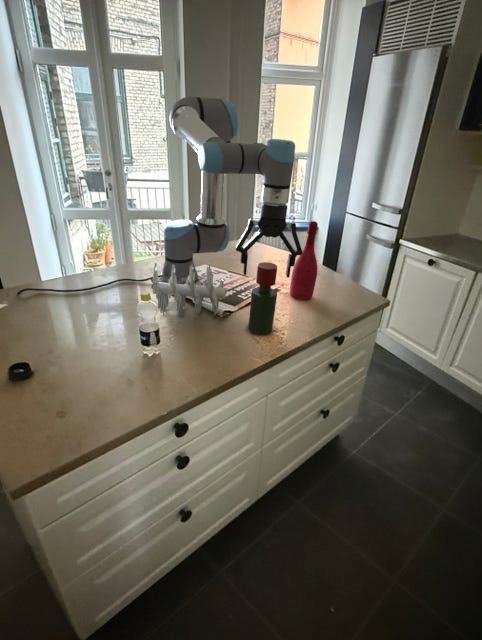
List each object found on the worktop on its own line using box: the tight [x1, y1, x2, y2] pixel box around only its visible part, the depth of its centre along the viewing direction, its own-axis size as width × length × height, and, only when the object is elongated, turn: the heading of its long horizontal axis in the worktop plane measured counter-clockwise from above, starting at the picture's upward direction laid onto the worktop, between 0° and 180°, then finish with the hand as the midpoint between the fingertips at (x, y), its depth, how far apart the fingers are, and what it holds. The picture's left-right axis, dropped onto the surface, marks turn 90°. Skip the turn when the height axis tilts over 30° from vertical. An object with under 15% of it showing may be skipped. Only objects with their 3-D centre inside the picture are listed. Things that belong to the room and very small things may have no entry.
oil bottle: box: [247, 285, 278, 336], centre depth 121 cm, size 8×8×22 cm
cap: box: [255, 261, 278, 287], centre depth 116 cm, size 6×6×6 cm
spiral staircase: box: [152, 262, 226, 317], centre depth 129 cm, size 18×18×25 cm
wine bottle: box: [289, 220, 318, 301], centre depth 144 cm, size 10×10×30 cm
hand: (266, 274), depth 116 cm, fingers open, 13 cm apart
